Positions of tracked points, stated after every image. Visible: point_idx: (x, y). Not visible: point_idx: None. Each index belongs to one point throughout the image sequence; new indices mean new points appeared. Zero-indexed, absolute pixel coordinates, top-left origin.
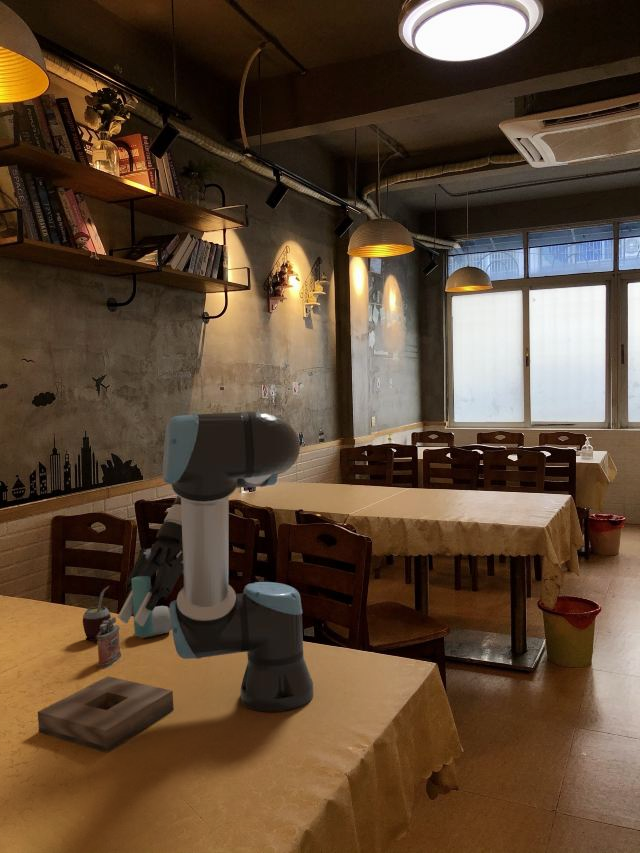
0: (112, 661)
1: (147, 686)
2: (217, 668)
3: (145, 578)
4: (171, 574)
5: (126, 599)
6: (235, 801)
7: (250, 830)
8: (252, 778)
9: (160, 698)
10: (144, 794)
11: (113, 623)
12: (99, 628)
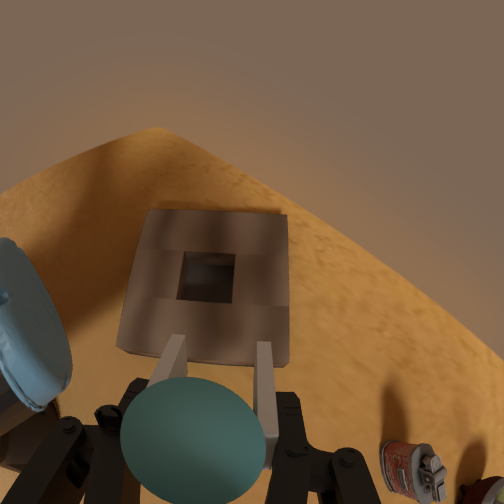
0: (381, 463)
1: None
2: None
3: (153, 450)
4: (15, 481)
5: (292, 408)
6: (21, 213)
7: (13, 195)
8: None
9: (121, 314)
10: (84, 191)
11: (431, 492)
12: (471, 495)
